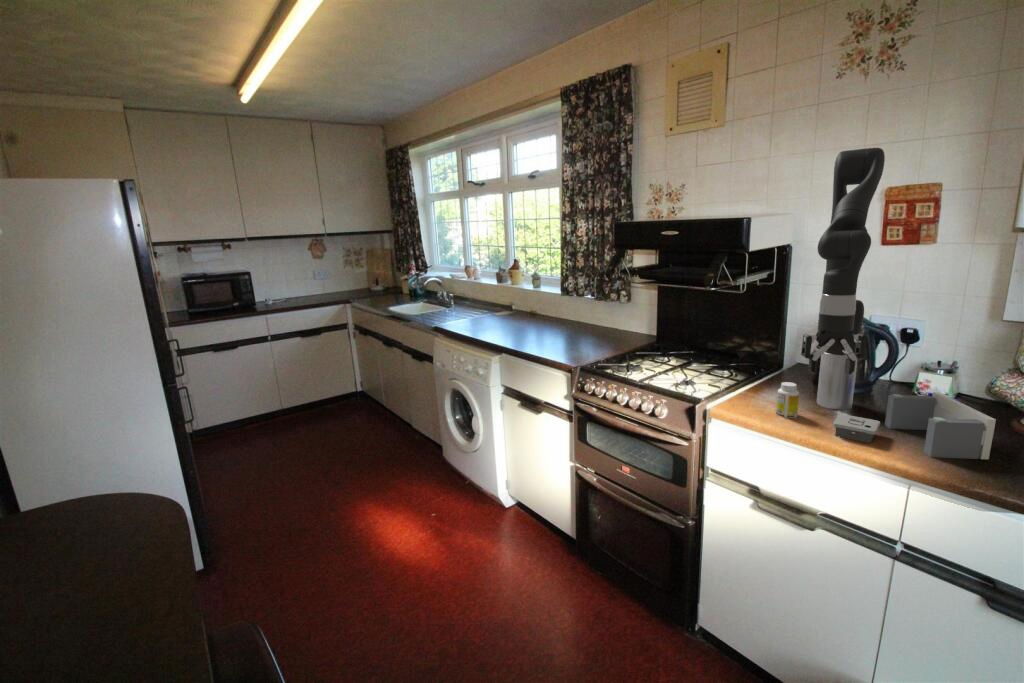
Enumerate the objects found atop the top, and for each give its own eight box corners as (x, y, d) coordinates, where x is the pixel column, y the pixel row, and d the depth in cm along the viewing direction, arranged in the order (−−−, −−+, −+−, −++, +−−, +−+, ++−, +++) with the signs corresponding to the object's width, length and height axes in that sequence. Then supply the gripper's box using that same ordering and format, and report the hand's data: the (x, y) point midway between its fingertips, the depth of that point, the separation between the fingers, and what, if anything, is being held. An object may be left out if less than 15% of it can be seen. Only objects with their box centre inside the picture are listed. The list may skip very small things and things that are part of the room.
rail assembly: (884, 425, 133) (889, 391, 131) (933, 426, 131) (939, 392, 129) (930, 457, 115) (936, 418, 112) (988, 459, 112) (996, 419, 110)
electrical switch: (876, 432, 120) (834, 417, 126) (869, 450, 122) (828, 434, 128) (882, 421, 127) (841, 408, 133) (875, 438, 129) (835, 424, 135)
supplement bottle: (798, 415, 143) (801, 383, 141) (794, 421, 139) (797, 388, 137) (778, 411, 147) (780, 380, 144) (773, 417, 143) (776, 384, 140)
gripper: (860, 308, 122) (853, 369, 126) (800, 309, 125) (794, 369, 129) (877, 313, 115) (869, 378, 119) (812, 314, 118) (806, 377, 121)
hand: (830, 373), depth 124 cm, fingers open, 7 cm apart
